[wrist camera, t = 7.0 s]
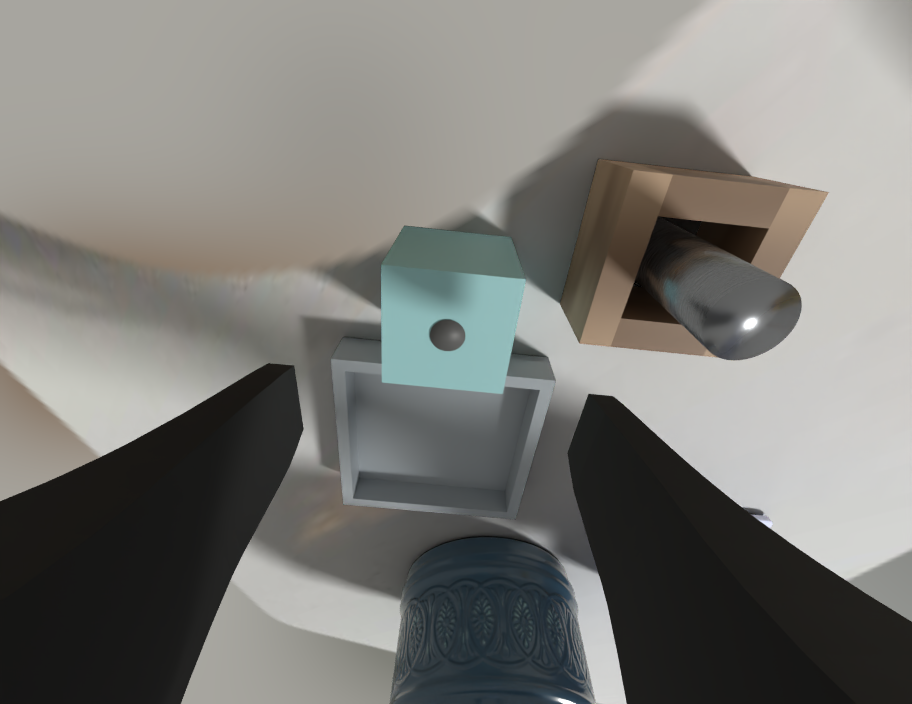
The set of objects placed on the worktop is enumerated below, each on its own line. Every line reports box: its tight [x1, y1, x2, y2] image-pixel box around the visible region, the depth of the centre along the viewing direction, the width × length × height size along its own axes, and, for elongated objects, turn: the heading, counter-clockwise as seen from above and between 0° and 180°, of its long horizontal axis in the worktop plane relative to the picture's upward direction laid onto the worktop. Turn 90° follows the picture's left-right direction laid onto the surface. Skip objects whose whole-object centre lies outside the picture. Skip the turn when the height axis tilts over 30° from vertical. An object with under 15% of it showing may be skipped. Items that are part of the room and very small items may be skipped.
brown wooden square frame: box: [560, 159, 829, 357], centre depth 15 cm, size 6×6×4 cm
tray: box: [331, 337, 556, 519], centre depth 21 cm, size 10×10×2 cm
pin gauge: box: [635, 217, 802, 360], centre depth 13 cm, size 2×2×7 cm
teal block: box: [381, 226, 526, 394], centre depth 15 cm, size 4×4×5 cm
